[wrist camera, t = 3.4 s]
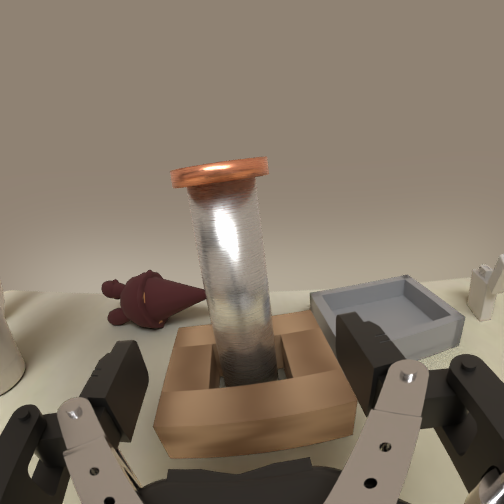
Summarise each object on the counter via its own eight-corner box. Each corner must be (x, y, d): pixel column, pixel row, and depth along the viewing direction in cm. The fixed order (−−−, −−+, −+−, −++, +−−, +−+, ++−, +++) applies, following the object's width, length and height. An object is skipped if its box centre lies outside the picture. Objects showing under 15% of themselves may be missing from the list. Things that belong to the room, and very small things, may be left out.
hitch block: (170, 458, 16) (152, 426, 15) (187, 358, 27) (178, 327, 26) (352, 434, 16) (357, 400, 15) (311, 341, 28) (310, 309, 27)
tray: (342, 381, 21) (344, 352, 21) (310, 317, 32) (309, 292, 31) (459, 344, 22) (465, 317, 21) (405, 297, 32) (407, 274, 32)
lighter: (466, 303, 28) (474, 237, 26) (478, 302, 27) (486, 236, 25) (490, 336, 21) (506, 258, 19) (502, 333, 21) (519, 257, 19)
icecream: (216, 258, 36) (116, 274, 39) (192, 264, 28) (81, 281, 32) (226, 315, 36) (126, 322, 39) (205, 334, 29) (94, 337, 32)
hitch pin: (218, 423, 19) (160, 172, 14) (219, 376, 24) (178, 169, 19) (296, 413, 19) (273, 155, 14) (284, 367, 25) (261, 157, 20)
